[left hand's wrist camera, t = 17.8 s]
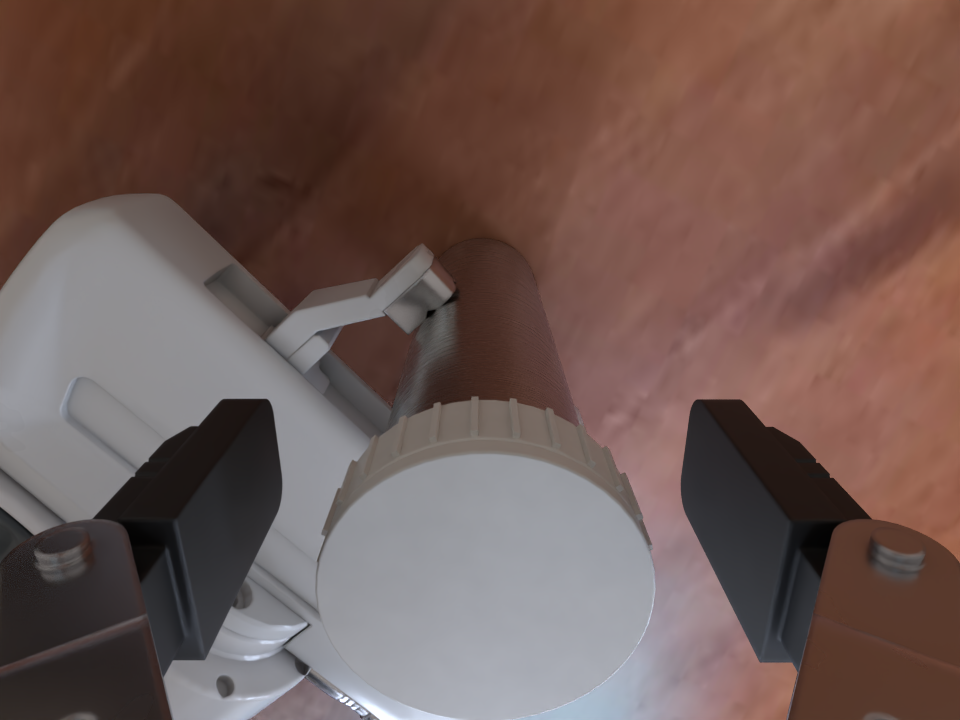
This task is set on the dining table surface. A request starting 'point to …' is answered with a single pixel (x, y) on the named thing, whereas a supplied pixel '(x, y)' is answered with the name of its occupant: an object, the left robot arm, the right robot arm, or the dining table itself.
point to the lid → (485, 563)
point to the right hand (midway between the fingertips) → (505, 335)
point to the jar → (484, 339)
